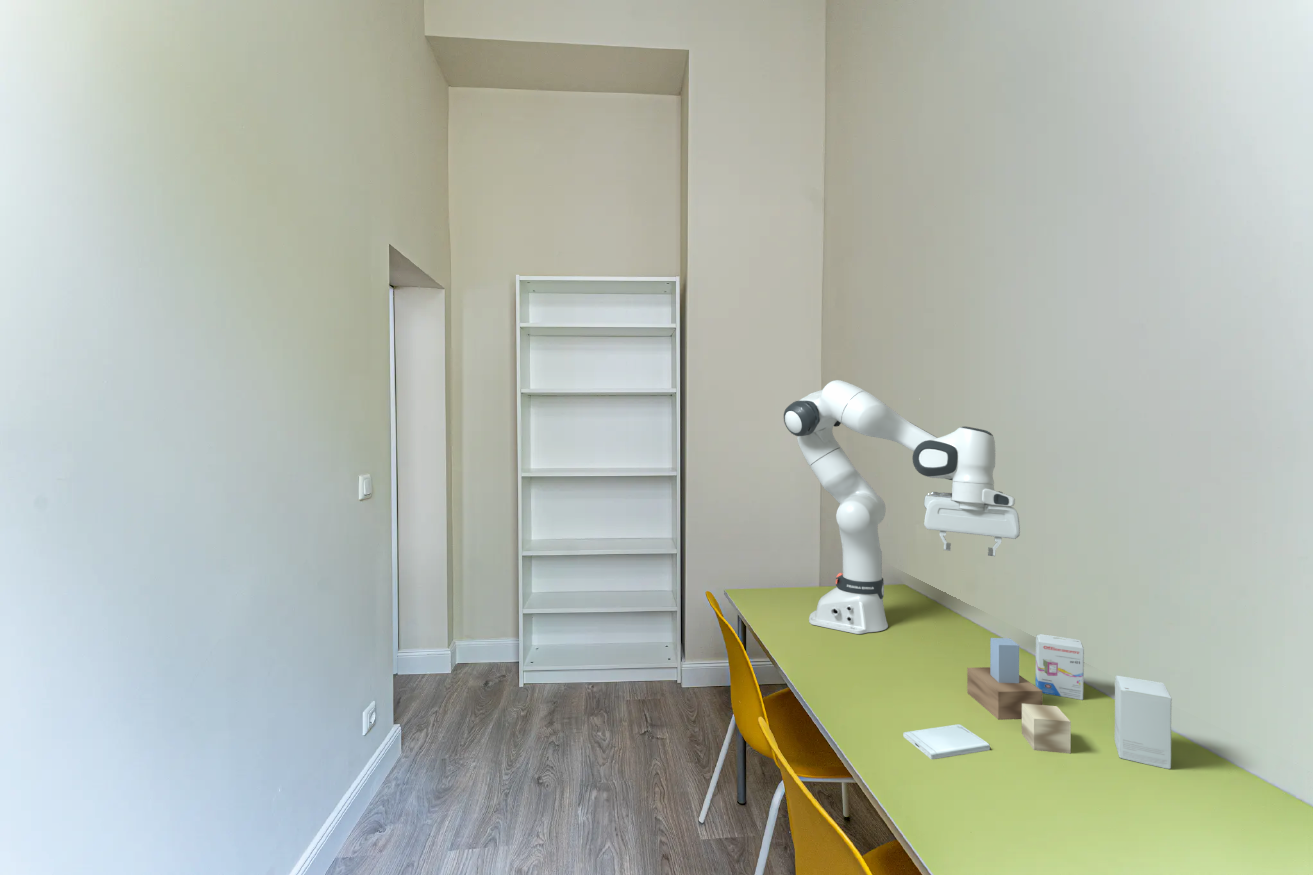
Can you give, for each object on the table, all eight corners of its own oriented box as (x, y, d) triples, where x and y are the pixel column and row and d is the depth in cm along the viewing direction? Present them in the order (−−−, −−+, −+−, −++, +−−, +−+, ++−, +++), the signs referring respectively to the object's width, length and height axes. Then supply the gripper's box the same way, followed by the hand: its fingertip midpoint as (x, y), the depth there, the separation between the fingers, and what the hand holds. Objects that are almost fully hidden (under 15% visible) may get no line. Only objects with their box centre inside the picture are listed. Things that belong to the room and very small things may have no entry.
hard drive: (958, 722, 120) (903, 730, 117) (990, 744, 112) (931, 753, 109) (958, 731, 120) (903, 739, 117) (990, 753, 112) (931, 762, 109)
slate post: (990, 674, 131) (990, 637, 131) (1010, 675, 131) (1010, 638, 130) (998, 682, 127) (998, 644, 127) (1019, 683, 127) (1019, 645, 126)
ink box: (1037, 693, 134) (1037, 640, 134) (1035, 684, 139) (1035, 633, 139) (1084, 700, 130) (1084, 646, 130) (1080, 691, 135) (1080, 638, 135)
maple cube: (1033, 750, 112) (1034, 718, 111) (1021, 734, 117) (1021, 703, 117) (1070, 753, 110) (1070, 721, 110) (1056, 737, 116) (1056, 706, 116)
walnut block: (998, 720, 123) (998, 691, 123) (967, 694, 135) (967, 667, 135) (1042, 720, 123) (1042, 690, 123) (1007, 693, 135) (1007, 666, 135)
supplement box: (1172, 770, 105) (1172, 698, 104) (1118, 758, 108) (1118, 688, 108) (1164, 750, 111) (1165, 682, 110) (1113, 739, 115) (1114, 673, 114)
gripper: (923, 491, 147) (920, 548, 146) (1022, 499, 137) (1019, 560, 137) (925, 490, 152) (922, 545, 152) (1020, 498, 143) (1016, 557, 143)
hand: (968, 552), depth 144 cm, fingers open, 8 cm apart
